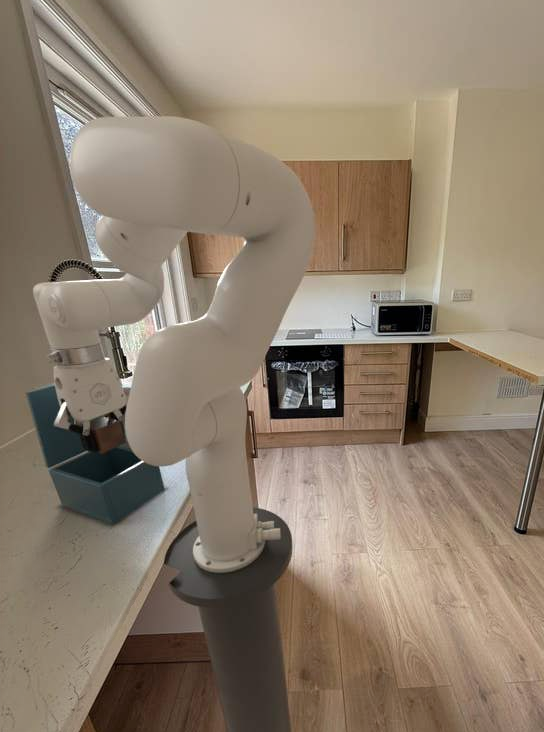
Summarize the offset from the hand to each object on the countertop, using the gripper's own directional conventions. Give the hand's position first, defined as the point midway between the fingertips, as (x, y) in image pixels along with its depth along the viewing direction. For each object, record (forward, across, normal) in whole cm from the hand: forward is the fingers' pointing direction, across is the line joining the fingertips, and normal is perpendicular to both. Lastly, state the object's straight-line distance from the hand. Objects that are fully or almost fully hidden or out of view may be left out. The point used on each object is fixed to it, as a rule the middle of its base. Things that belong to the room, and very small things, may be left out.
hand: (106, 443), depth 70 cm
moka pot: (+14, +16, +16) cm, 27 cm away
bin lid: (-4, 0, +9) cm, 9 cm away
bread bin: (+14, 0, +2) cm, 14 cm away
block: (0, 0, 0) cm, 0 cm away
